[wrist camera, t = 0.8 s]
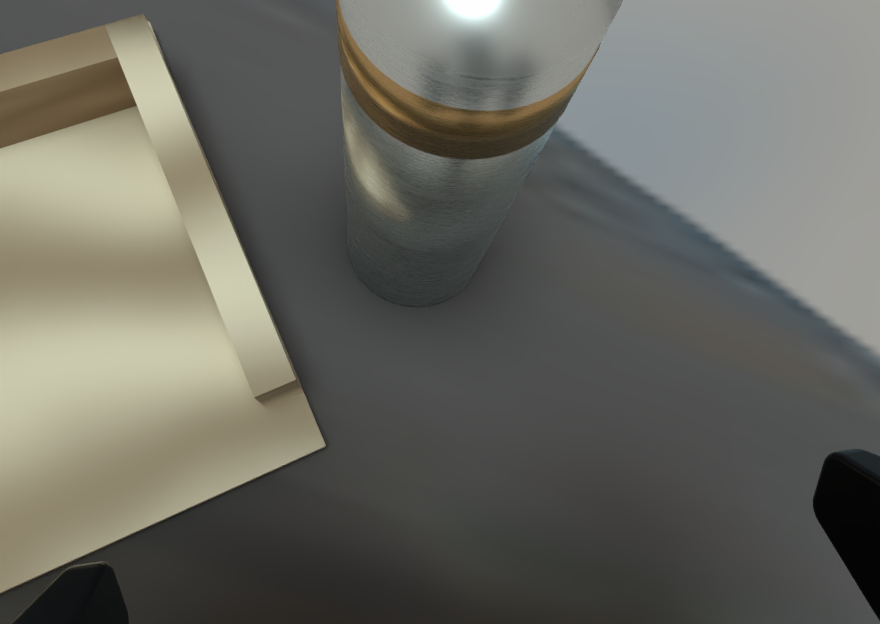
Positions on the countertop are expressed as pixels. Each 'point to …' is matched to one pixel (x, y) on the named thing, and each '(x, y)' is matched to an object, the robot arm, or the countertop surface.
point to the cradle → (122, 309)
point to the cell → (449, 126)
